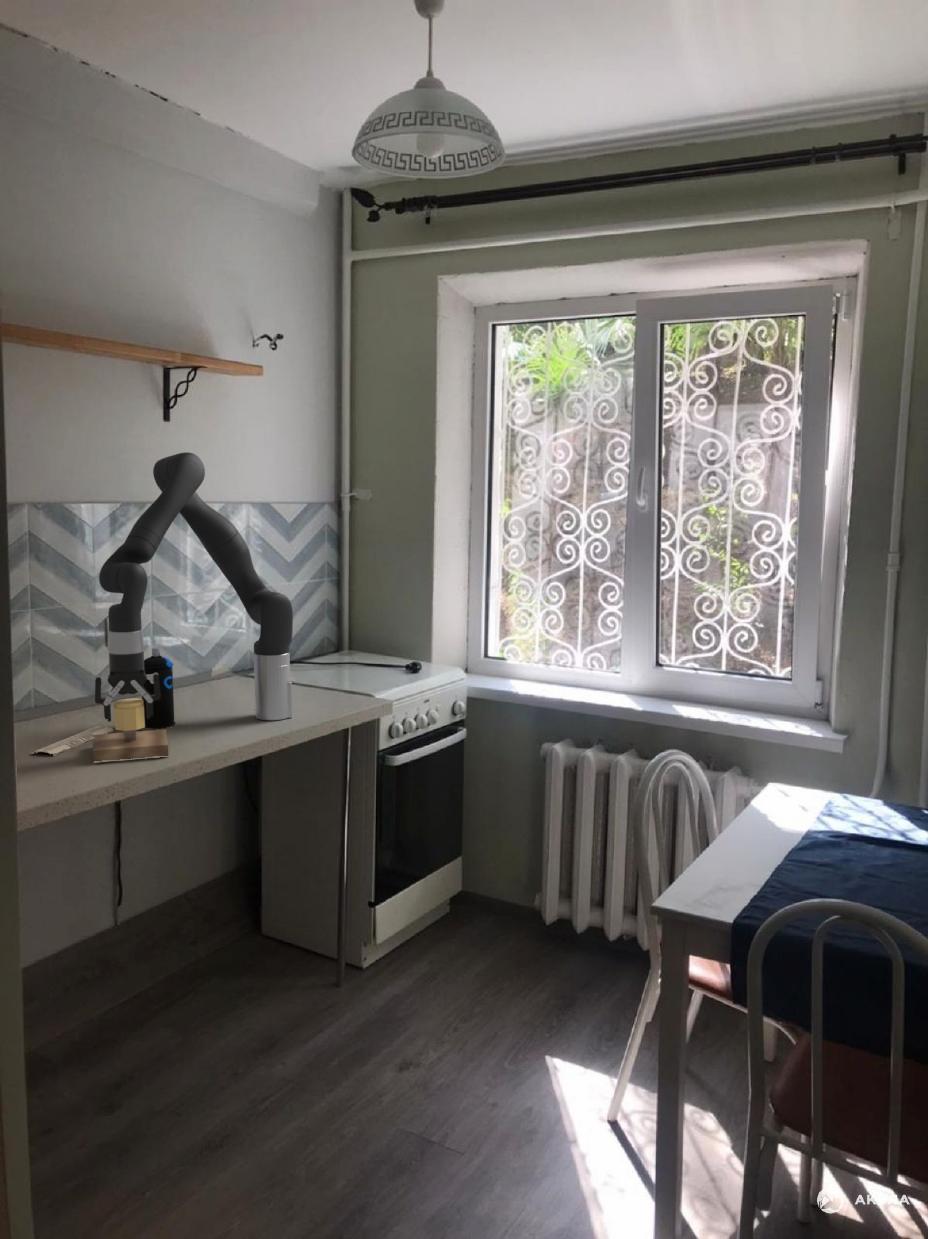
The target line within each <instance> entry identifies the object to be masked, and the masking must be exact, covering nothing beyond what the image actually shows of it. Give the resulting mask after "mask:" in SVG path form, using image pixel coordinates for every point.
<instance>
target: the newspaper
mask: <svg viewBox="0 0 928 1239" xmlns="http://www.w3.org/2000/svg"><path fill="white" fill-rule="evenodd" d="M112 730H113V731H114V729H113V728H111V727H110V726H109V727H108V726H104V725H102V726H101V725H100V726H94V727H91V728H89V729H86V730H84V731H81V732H78V733H76V734H74V735H72V736H69V737H67V738H64V739H62V740H59V741H56V742H54V743H52V744H49V745H47V747H46V746H44V747H41V748H39V749H37V750H35V751H33V752H34V753H36V752H39V753H48V754H49V755H51V754H52V753H53V754H54V753H58V752H60V751H62V750H63V749H69V748H71V747H72V746H77V745H78V744H79V743H84V742H86V741H88V740H91V739H94V735H100V734H105V733H107V732H110V733H112V732H113V731H112ZM111 731H112V732H111Z"/></svg>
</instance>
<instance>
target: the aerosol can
mask: <svg viewBox="0 0 928 1239" xmlns="http://www.w3.org/2000/svg"><path fill="white" fill-rule="evenodd" d="M160 650H161V647H152V648H151V656H150V657H147V658H144V671H145V674H146V675H149V674H154V673H155V672H156V673H158V675H159V683H160V693H161V698H160V699H159V700H156V701H154V702H153V716H150V719H147V704H146V702H147V700H146V699H145V698H144V697H143V696H142V695H141V699H143V700H144V718H145V727H144V728H143V729H147V730H162V729H161V728H163V729H168V728H171V727H170V726H172V727H174V726H175V725H176V724H177V723H176V721H175V702H174V701H175V699H174V675H173V674H174V672H173V666H174V662H172V661H171V660H170V659H169V658H168V657H165V656H163V655H161V653H160ZM143 687H144V688H145V689H146V690H147V692H148V693H149V694H150V695H153V694H155V689H154V684H152V683H151V682H150V680H148V679H147V680H146V682H145V683H144V685H143ZM167 727H168V728H167Z"/></svg>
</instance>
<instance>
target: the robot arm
mask: <svg viewBox="0 0 928 1239" xmlns="http://www.w3.org/2000/svg"><path fill="white" fill-rule="evenodd" d="M152 473H153V474H152V475H153V480H154V481H155V484H156V486H157V487H158V489H159V490H160V492H161V493H160V494H159V496H158V497H157V498H156V499H155V500H154V502H153V503H151V505H149V506H148V508H147V509H146V510H145V511H144V512H143V513H142V514H141V515H140V516H139V518H138V519H137V520H136V522H135V523H134V525H133V526H132V528H131V530H129V533H128V535H127V537H126V538H125V540H124V542H123V543H122V544H121V545H120V546H119V547H118V548H117V549H115V551H114V552H113V553H112V554H111V555H110V556H109V557H108V558H107V559H106V561H104V563H103V564H102V566H101V568H100V571H99V574H98V575H99V576H98V581H99V585H100V587H101V588H102V589H103V590H104V591H105V592H107V593H112V594H113V593H114V594H122V599H121V601H120V603H115V604H113V605H111V606H110V607H109V608H108V616H107V617H108V638H107V639H108V642H107V643H108V648H107V650H108V664H109V666H108V668H109V674H108V676H101V675H96V676H95V678H94V679H95V683H94V703H95V704H99V705H102V706H103V714H104V715H103V716H104V720H107V722H112V712H111V711H112V710H111V709H112V708H111V703H112V701H113V700H114V698H115V697H116V696H117V695H118V694H119V695H121V696H123V695H127V694H129V695H135V694H138V693H139V694H140V695H141V697H142V696H143V697H144V698H145V699H146V700H147V702H146V704H147V719H150V716H153V702H154V701H156V700H159V699H160V698H161V693H160V683H159V675H158V673H156V672H155V673H154V674H149V675H146V674H145V671H144V660H145V655H144V654H145V653H144V652H145V651H144V649H145V646H144V638H143V636H144V635H143V630H142V628H143V627H142V608H143V605H144V601H145V597H146V594H147V587H148V583H149V582H148V581H149V580H148V574H147V571H146V569H145V567H143V566H142V564H147V563H149V562H150V561H151V560H152V559H153V557H154V556H155V554H156V552H157V550H158V549H159V546H160V545H161V543H162V541H163V539H164V537H165V535H166V533H167V531H168V530H169V529H170V527H171V525H172V524H173V522H174V520H175V519H176V518H177V517H178V515H179V514H180V515H181V516H182V517H183V519H184V520H185V522H186V523H187V524H188V526H189V527H190V528H191V530H192V531H193V533H194V534H195V535H196V537H197V538H198V539H199V541H200V543H201V544H202V545H203V547H204V549H205V551H206V552H207V553H208V555H209V556H210V558H211V559H212V561H213V562H214V563H215V565H216V566H217V567H218V569H219V571H221V573H222V574H223V576H224V577H225V579H226V580H227V581H228V582H229V583H230V585H231V587H232V588H233V589H234V591H235V592H236V595H237V597H238V598H239V600H240V602H241V603H242V605H243V607H244V609H245V611H246V613H247V615H248V617H250V619H251V620H252V621H253V622H254V623H255V624H257V625H260V629H259V630H260V631H259V632H260V634H259V638H258V640H256V641H255V642H254V643H253V667H254V668H253V670H254V671H253V673H254V674H253V675H254V678H253V679H254V707H255V708H254V711H255V712H254V714H255V718H256V719H258V720H263V721H279V720H284V719H290V718H293V685H292V684H293V683H292V681H291V666H290V665H291V658H290V657H291V656H290V654H291V653H290V651H291V650H290V648H291V647H290V646H291V644H292V641H293V628H294V627H293V624H294V623H293V622H294V620H293V619H294V611H293V605H292V602H291V600H290V598H288V597H287V595H285V594H282V593H280V592H275V591H271V590H270V589H269V588H268V586H266V584H265V583H264V582H263V581H262V579H261V577H260V576H259V575H258V573H257V572H256V570H255V567H254V563H253V559H252V556H251V552H250V549H249V546H248V544H247V542H246V541H245V539H244V538H243V536H242V534H240V532H239V530H238V528H236V525H234V524H233V523H232V522H231V520H229V519H228V518H226V516H224V515H223V514H221V513H219V512H218V511H217V510H215V509H214V508H212V507H211V506H210V505H209V504H207V503H206V502H205V501H203V499H202V498H201V497H200V496H199V495H198V493H197V490H198V489H199V488H200V486H201V485H202V483H203V482H204V480H205V476H206V469H205V465H204V462H203V460H202V459H201V458H200V457H199V456H198V455H196V454H195V453H193V452H188V451H187V452H186V451H185V452H180V453H176V454H172V455H169V456H165V457H163V458H160V459H159V460H158V459H157V461H156V462H155V463H154V465H153V470H152ZM147 679H148V680H150V682H151V683H152V684H154V689H155V694H153V695H150V694H149V693H148V692H147V690H146V689H145V688H144V687H143V685H144V683H145V682H146V680H147ZM107 682H108V684H109V685H110V686H111V687H112V688H111V689H110V690H109V692H108V693H107V695H106V696H105V697H102V687H105V684H106V683H107Z"/></svg>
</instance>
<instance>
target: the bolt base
mask: <svg viewBox="0 0 928 1239" xmlns="http://www.w3.org/2000/svg"><path fill="white" fill-rule="evenodd" d="M166 731H167V730H166V729H152V730H144V731H143V730H142V731H137V730H129V731H123V732H114V733H113V732H112V733H108V734H100V735H94V740H93V744H92V745H93V746H92V761H102V760H120V759H131V758H132V759H133V758H145V757H153V756H168V755H169V743H168V742H169V741H168V737H167V732H166Z"/></svg>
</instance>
